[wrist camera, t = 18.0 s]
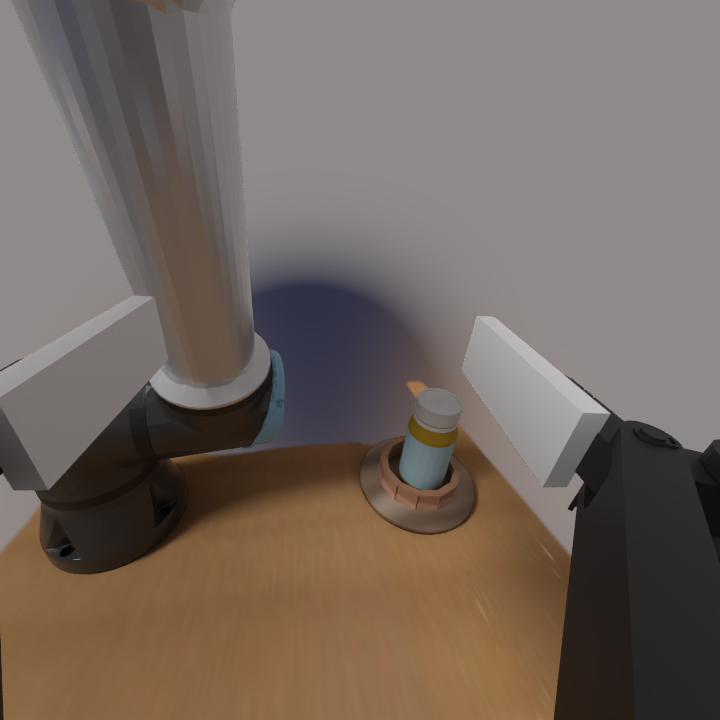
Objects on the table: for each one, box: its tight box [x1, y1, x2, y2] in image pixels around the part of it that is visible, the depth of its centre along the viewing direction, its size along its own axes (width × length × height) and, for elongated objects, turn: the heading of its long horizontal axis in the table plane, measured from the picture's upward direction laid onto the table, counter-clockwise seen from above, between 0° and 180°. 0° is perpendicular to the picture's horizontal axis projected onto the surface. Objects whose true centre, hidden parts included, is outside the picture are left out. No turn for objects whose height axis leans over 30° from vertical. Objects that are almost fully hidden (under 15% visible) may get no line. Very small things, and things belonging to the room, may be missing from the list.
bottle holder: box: [360, 436, 475, 535], centre depth 50 cm, size 18×18×4 cm
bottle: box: [399, 388, 463, 490], centre depth 47 cm, size 7×7×15 cm
